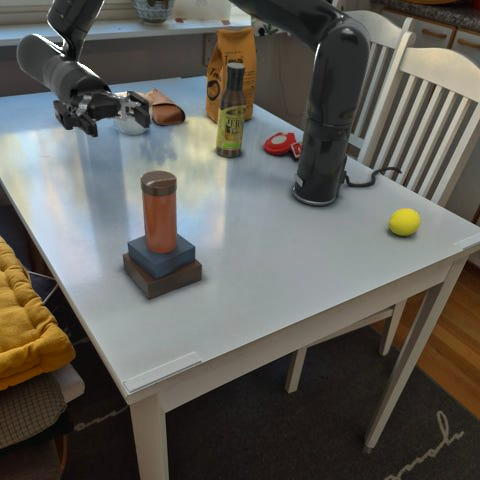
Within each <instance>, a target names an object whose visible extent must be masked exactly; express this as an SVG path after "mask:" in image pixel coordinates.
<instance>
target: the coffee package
mask: <svg viewBox="0 0 480 480" xmlns="http://www.w3.org/2000/svg"><path fill="white" fill-rule="evenodd" d="M216 36H217V42H216V43H215V47H214V51H213V53H212V55H211V56H210V57H211V58H210V59H209V60H210V61H209V63H208V66H207V71H206V72H207V73H206V88H205V91H206V93H205V94H206V95H205V112H206V116H207V117H208V118H210V119H211V120H212V121H213V122H214V123H216V124H218V112H219V105H220V95H221V93H222V92H223V91H224V89H225V88H226V80H227V71H226V70H227V64H229V63H239V64H242V65H244V66H245V73H244V76H243V89H242V90H243V92H244V95H245V97H246V110H245V118H244V122H246V121H249V120H251V119H253V113H254V103H255V95H256V85H257V71H258V54H257V49H256V48H257V47H256V43H255V34H254V28H253V27H252V26H247V27H245V28H243V29H241V30H230V29H220V28H217V29H216Z"/></svg>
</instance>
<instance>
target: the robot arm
mask: <svg viewBox="0 0 480 480" xmlns="http://www.w3.org/2000/svg"><path fill="white" fill-rule="evenodd" d="M104 2H105V0H53V2H52V4H51V6H50V8H49V9H48V13H47V15H46V20H47V23H48V25H49V26H50V27H51V28H52V30H53V31H54V32H56V34H57V35H58V36H60V37H61V38H62V40H63V45H62V46H61V47H59V46H58V45H56V44H54V43H53V42H51V41H49V40H48V39H46V38H45V37H42V35H39V34H36V33H35V34H34V33H33V34H32V33H31V34H27V35H25V36H23V37H21V39H20V40H19V42H18V44H17V47H16V60H17V63H18V65H19V68H20V69H21V70H22V71H23V72H24V74H26V75H28V76H29V77H31V78H32V79H34V80H35V81H37V82H38V83H40V84H42V86H43V85H44V87H46V88H48V89H49V91H50V92H51V93H53V95H54V96H55V97H56V98H57V99H55V100H53V101H52V103H53V110H54V114H55V119H56V120H57V121H58V122H59V124H60V125H61V126H62V128H63V129H64V130H66V131H72V130H74V128H77V130H79V131H82V132H83V133H84V134H85V135H87V136H91V137H92V138H98V137H99V130H98V124H97V122H99V121H101V120H103V119H104V120H105V119H107V120H111V119H112V118H114V119H118V120H123V121H126V120H127V119H132V120H135V121H136V122H137V123H138V124H140V125H141V126H142V127H143V128H147V129H150V127H151V122H152V120H151V121H150V114H149V101H148V100H147V99H145V98H144V97H142V96H140V95H139V94H137V93H136V92H137V91H134V90H131V89H130V90H127V91H126V92H127V96H119V95H117V94H115V93H114V92H113V91H112V89H111V88H110V86H109V85H108V83H107V82H106V81H105V80H104V79H103V78H102V77H100V76H99V75H97V74H96V73H95V72H94V71H92V70H91V69H90V68H88V67H87V66H85V65H84V64H81V63H80V58H81V54H82V50H83V46H84V43H85V40H86V38H87V36H88V34H89V32H90V30H91V28H92V26H93V25H94V23H95V21H96V19H97V17H98V15H99V14H100V11H101V10H102V7H103V5H104ZM228 2H229V3H231V4H233V5H234V6H235V7H237V9H240V10H241V11H242V12H244V13H245V14H247V15H248V16H250V17H252V18H254V19H255V20H258V21H261V22H263V23H264V24H268V25H270V26H271V27H272V26H273V27H275V28H277V29H280V30H282V31H285V32H287V33H289V34H291V35H292V36H293V37H295V38H297V39H298V40H299V41H301V42H302V43H303V44H304V45H305V46H307V47H308V48H309V49H310V50H311V51H312V52H313V53H314V54H315V57H314V63H313V68H312V74H311V81H310V86H309V92H308V99H307V100H308V102H307V103H308V104H307V110H306V117H305V121H304V122H305V123H304V127H303V134H302V139H301V141H302V145H301V151H300V156H299V159H298V161H297V162H298V163H297V168H296V172H294V176H293V179H294V186H293V190H292V196H293V197H294V199H296V200H297V201H299V202H300V203H302V204H304V205H305V204H306V205H309V206H313V207H325V206H328V205H331V204H333V203H334V202H335V201H336V198H338V197H339V193H340V189H341V186H342V185H344V184H345V182H346V184H347V186H349V187H351V188H364V187H365V188H366V187H369V186H372V185H373V184H375V182H376V175H377V174H379V173H382V172H385V171H395V172H397V173H398V174H401V175H402V174H403V172H402V170H401V169H400V168H398V167H396V166H386V167H381V168H379V169H376V170H374V171H373V172H372V173H371V179H372V180H371V181H368V182H365V183H353V182H351V181H350V176H349V175H347V173H348V171H347V170H346V165H347V162H348V155H347V154H346V153H347V150H348V145H349V141H350V138H351V133H352V129H353V125H354V120H355V116H356V113H357V110H358V106H359V102H360V97H361V93H362V89H363V85H364V81H365V77H366V73H367V70H368V66H369V61H370V55H371V50H372V39H371V35H370V33H369V32H370V31H369V30H368V28H367V27H366V26H365V24H363V22H361V20H359V19H357V18H355V17H353V16H352V15H350V14H348V13H346V12H345V11H343V10H341V9H340V8H338V7H336V6H334V5H333V4H331V3H329V2H328V1H327V0H228ZM120 109H121V110H122V114H119V111H120ZM129 109H130V110H131V109H132V110H133V113H134V114H132V113H130V112H129Z"/></svg>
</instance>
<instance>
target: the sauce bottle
mask: <svg viewBox="0 0 480 480" xmlns="http://www.w3.org/2000/svg"><path fill="white" fill-rule="evenodd" d="M226 71H227V80H226V88H225V89H224V91H223V92H222V93H221V95H220V105H219V112H218V123H217V127H216V128H217V129H216V141H215V145H216V148H215V151H216V153H217V154H218V155H220V156H222V157H226V158H235V157H238V156H239V155H240V154H241V149H242V144H243V137H244V127H245V121H244V118H245V110H246V97H245V95H244V92H243V90H242V89H243V76H244V73H245V66H244V65H242V64H239V63H229V64H227V70H226Z"/></svg>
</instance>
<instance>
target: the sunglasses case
mask: <svg viewBox="0 0 480 480" xmlns="http://www.w3.org/2000/svg"><path fill="white" fill-rule="evenodd" d="M145 94H146V95H148V96H150V97H151V98H152V100H153V105H152V120H151V121H153V122H154V123H155V124H157V125H160V126H173V125H179V124H183V123H184V122H185V121H186V119H187V117H186V116H187V115H186V112H185V111H184V110H183V108H181V106H179V105H177V104H176V103H175V102H174V101H173V100H171V99H170V98H169V97H167V96H166V95H165V94H163V93H162V92H161V91H159V90H158V89H157V87H153V89H151V90H150V91H149V92H147V93H145Z"/></svg>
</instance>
